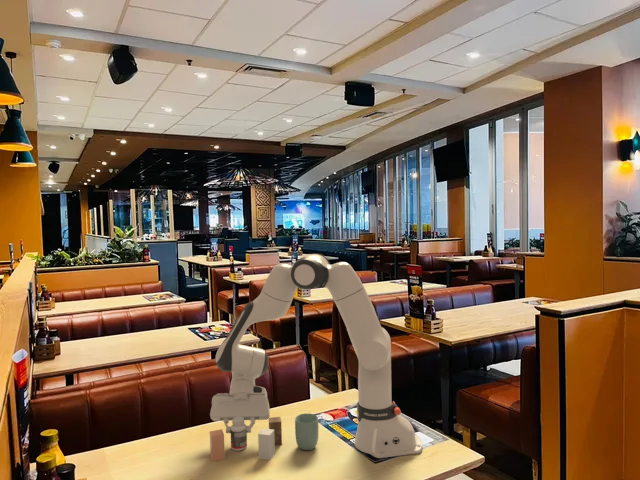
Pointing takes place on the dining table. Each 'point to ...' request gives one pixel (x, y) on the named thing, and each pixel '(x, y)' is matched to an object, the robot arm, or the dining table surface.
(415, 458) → the dining table surface
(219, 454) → the terracotta block
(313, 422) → the cup
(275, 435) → the walnut block
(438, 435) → the dining table surface
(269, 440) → the grey block
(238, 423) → the pill bottle
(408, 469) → the dining table surface
